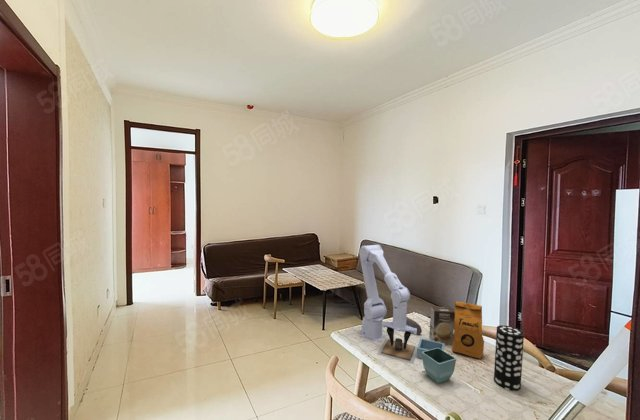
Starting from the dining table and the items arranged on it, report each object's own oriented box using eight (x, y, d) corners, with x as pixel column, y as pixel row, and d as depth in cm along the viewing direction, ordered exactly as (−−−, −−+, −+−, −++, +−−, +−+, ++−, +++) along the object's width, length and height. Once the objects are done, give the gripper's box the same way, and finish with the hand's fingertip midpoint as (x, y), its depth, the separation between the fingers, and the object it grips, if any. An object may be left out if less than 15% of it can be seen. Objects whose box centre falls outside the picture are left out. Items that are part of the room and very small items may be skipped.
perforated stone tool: (423, 335, 144) (424, 321, 143) (418, 338, 140) (419, 324, 140) (397, 324, 155) (397, 311, 154) (391, 327, 151) (392, 314, 151)
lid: (381, 353, 125) (381, 342, 125) (387, 341, 136) (388, 331, 135) (410, 361, 120) (410, 349, 119) (414, 347, 130) (415, 337, 130)
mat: (376, 355, 124) (376, 354, 124) (385, 339, 138) (385, 339, 138) (413, 364, 118) (413, 363, 118) (418, 347, 131) (418, 347, 131)
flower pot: (420, 374, 112) (421, 351, 111) (437, 369, 115) (438, 347, 115) (438, 388, 103) (439, 363, 103) (455, 382, 107) (457, 358, 107)
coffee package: (482, 362, 121) (485, 310, 119) (450, 353, 127) (452, 303, 126) (484, 352, 129) (486, 303, 128) (453, 343, 136) (455, 297, 134)
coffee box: (432, 345, 134) (434, 310, 133) (428, 338, 140) (430, 305, 139) (453, 346, 133) (455, 312, 132) (448, 339, 139) (450, 306, 138)
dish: (416, 358, 122) (417, 348, 122) (420, 347, 131) (420, 338, 131) (442, 365, 118) (442, 354, 118) (444, 353, 127) (444, 343, 126)
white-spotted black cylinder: (521, 394, 101) (524, 338, 100) (493, 385, 106) (496, 331, 105) (520, 381, 108) (523, 329, 107) (494, 374, 113) (496, 323, 112)
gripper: (380, 315, 126) (379, 346, 127) (415, 322, 120) (414, 355, 121) (384, 310, 133) (383, 339, 133) (418, 316, 126) (416, 347, 127)
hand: (398, 346), depth 128 cm, fingers open, 5 cm apart
